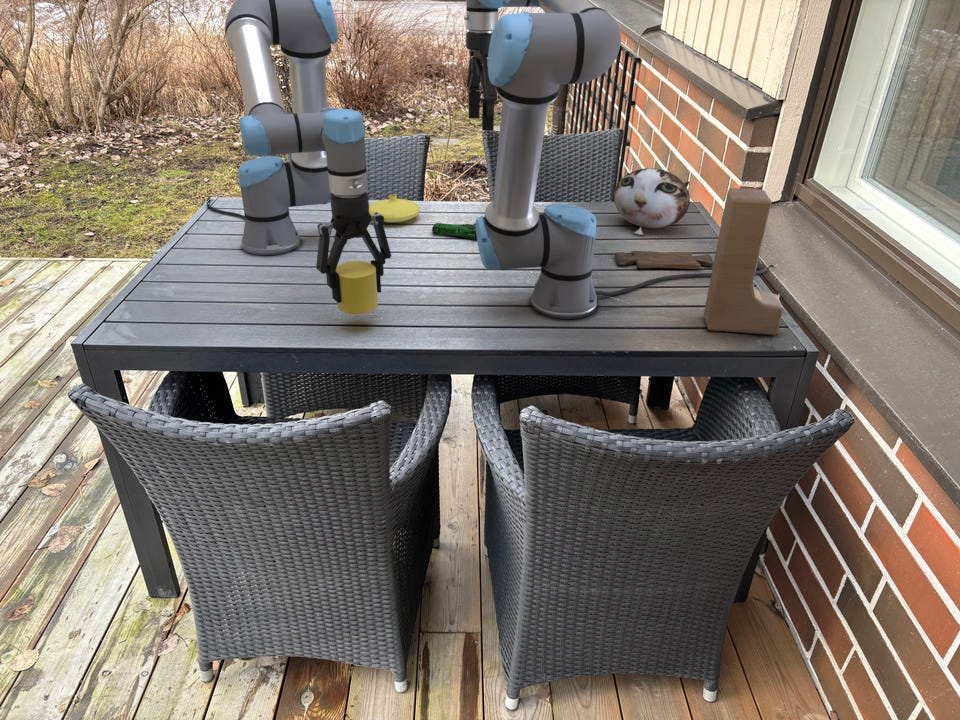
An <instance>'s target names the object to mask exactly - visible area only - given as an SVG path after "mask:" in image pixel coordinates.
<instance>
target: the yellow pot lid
mask: <svg viewBox="0 0 960 720" xmlns="http://www.w3.org/2000/svg"><path fill="white" fill-rule="evenodd" d="M376 212H377V213H379V214H381V215H382V216H383V217H384V223H391V224H392V223H393V224H394V223H402V222H407V221H409V220H411V219H413V218H415V217H417V216H418V215H419V213H420V206H419V205H418V204H417V203H416V202H415V201H411V200H408V199H403V198H398V197H397V194H389V195H388V198H387V199H380V200H376V201H374V202H371V203H370V204H369V213H370V214H374V213H376Z"/></svg>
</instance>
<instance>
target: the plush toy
mask: <svg viewBox="0 0 960 720" xmlns="http://www.w3.org/2000/svg"><path fill="white" fill-rule="evenodd" d="M689 185H690V181H686V182H683V180H681V178H679V176H677V175H675V174H674V173H672V172H669V171H667V170H665V169H661V168H653V167H648V168H647V167H646V168H640V169H636V170H633V171H631V172H626V174H625V176H623V177H621V179H620V180H619V181H618V182H617V184H616V186H615V188H614V191H613V202H614V203H613V204H614V206H615V208H616V211H617V212H618V213H619V215H620V216H621V217H622V218H623V219H624V220H626V221H627V222H629V223H630V224H632V225H634V226H637V227H639V228H638V229H637V230H636V231H634V232H633V234H634V235H640V236H644V233H643V231H642V228H643V229H650V230H651V229H652V230H655V229H664V228H668V227H670V226H673V225H675V224H677V223H678V222H680V221H681V219H683V218H684V217H685V215H686V214H687V212H688V210H689V207H690V204H691V195H690V191H689V189H688V186H689Z"/></svg>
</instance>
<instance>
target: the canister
mask: <svg viewBox="0 0 960 720" xmlns="http://www.w3.org/2000/svg"><path fill="white" fill-rule="evenodd" d="M335 271H336V272H337V273H338V274H339V284H340V294H341V302H340V303H337V302H336V304H337V308H338V310H339V311H340V312H342V313H344V314H348V315H362V314H363V315H364V314H368V313H370V312H373V311H374V310H376V309H377V308H378V306H379V297H378V292H377V279H376V267H375V266H374V265H373V264H371V262H368V261H364V260H351V261H346V262H345V261H344V262H342V263H339V264H338V265H337V268H336V270H335Z"/></svg>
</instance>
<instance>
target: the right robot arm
mask: <svg viewBox="0 0 960 720" xmlns="http://www.w3.org/2000/svg"><path fill="white" fill-rule="evenodd" d="M465 2H466V4H465V5H466V6H465V8H466V11H465V12H466V13H465V14H466V15H464V16H463V19H464V21H465V22H466V24H465V25H466V26H465V28H466V30H468V31H467V32H466V33H465V48H466V49H467V50H468V51H469V62H468V70H467V76H466V84H465V85H466V87H467V90H468V120H469V119H480V115H481V131H483V132H484V131H485V132H486V131H487V132H488V131H494V127H495V126H494V125H495V102H497V101H498V97H499V98H500V99H501V100H502V104H501V114H500V125H499V134H498V135H499V137H498V145H497V158H496V165H495V166H496V167H495V175H494V176H495V177H494V187H493V199H492V201H491V202H489V203H488V204H487V205H486V207H485V210H484V215H481V216H478V217H476V219H475V223H476V235H477V240H476V242H477V247H478V253H479V258H480V261H481V264H482V266H483V267H484V268H485V269H486V270H489V271H498V270H499V271H505V270H516V269H530V268H532V269H533V268H540V273H539V276H538V278H537V280H536V281H535V284H534V288H533V290H532V293H531V296H530V299H531V300H530V305H531V308H532V309H533V310H534V311H536V312H537V313H539V314H541V315H543V316H546V317H549V318H552V319H558V320H576V319H583V318H586V317H588V316H590V315H592V314H594V312H595V311H596V310H597V304H598V297H597V296H604V297H613V296H617V295H622V294H626V293H628V292H631V291H634V290H636V289H639V288H642V287H645V286H648V285H651V284H653V283H657V282H661V281H668V280H675V279H684V278H705V277H711V274H712V272H699V273H697V272H695V273H681V274H680V273H679V274H671V275H665V276H660V277H656V278H652V279H648V280H645V281H643V282H640V283H638V284H635V285H632V286H629V287H626V288H623V289H620V290H616V291H615V290H614V291H610V292H609V291H602V290H596V289H595V284H594V281H593V266H594V257H595V247H596V238H597V237H598V236H597V218H596V215H595V214H594V213H592V212H591V211H590V210H588V209H585V208H583V207H580V206H577V205H574V204H569V203H551V204H547V205H546V206H544V209H543V213H540V212H539V210H538V209H537V206H535V199H536V192H537V185H538V180H539V171H540V165H541V158H542V153H543V152H542V151H543V145H544V138H545V131H546V124H547V117H548V111H549V105H550V104H552V103H553V102H555V101H556V100H557V98H559V91H560V86H561V85H576V84H577V85H578V84H586V83H589V82H591V81H595V80H596V79H599V77H600V76H602V75H603V74H605V73H606V72H607V71H608V70H609V69H610V68H611V67H612V66H613V64H614V63H615V61H616V59H617V58H618V55H619V52H620V48H621V45H622V44H621V42H622V36H621V30H620V27H619V25H618V23H617V21H616V19H615V18H614V17H613V16H612V14H610V13H609V12H608V11H607V10H606V9H604V8H602V7H598V6H594V5H593V4H592V3H591V2H589V0H465ZM525 7H526V8H540V9H541V10H542V11H543V12H529V11H522V12H520V13H518V12H517V13H506V14H504V15H502V16H500V17H499V14H500V13H499V12H500V11H499V9H501V8H525ZM481 92H482V98H481ZM480 103H481V104H480ZM480 105H481V108H480ZM481 109H482V110H481ZM480 110H481V111H480ZM480 113H481V114H480ZM766 271H767V270H764V269H763V268H761V269H759V270H756V272H755V276H756V275H761V274H763V273H765V272H766Z"/></svg>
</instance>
